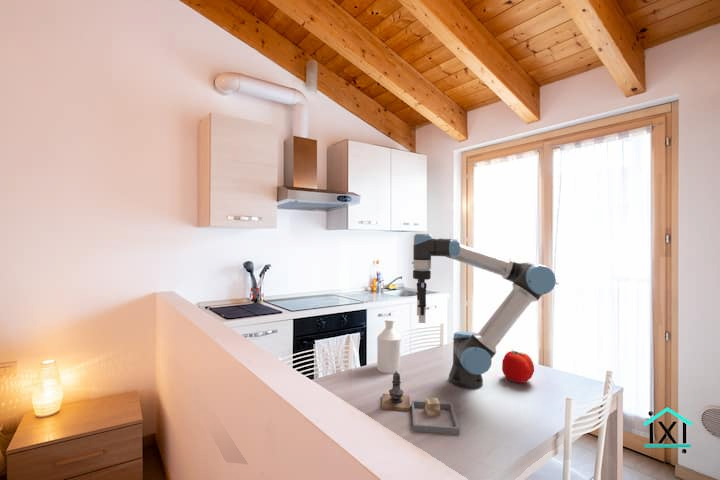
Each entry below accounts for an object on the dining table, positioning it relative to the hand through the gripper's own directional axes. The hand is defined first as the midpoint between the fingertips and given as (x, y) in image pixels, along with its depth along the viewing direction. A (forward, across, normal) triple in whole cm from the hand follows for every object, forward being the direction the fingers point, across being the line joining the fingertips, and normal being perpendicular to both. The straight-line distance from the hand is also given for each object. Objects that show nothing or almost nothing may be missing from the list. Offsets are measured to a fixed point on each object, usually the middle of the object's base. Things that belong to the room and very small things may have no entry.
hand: (420, 319), depth 153 cm
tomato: (+32, -19, +47) cm, 60 cm away
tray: (+32, +22, +4) cm, 39 cm away
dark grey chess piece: (+31, +12, -10) cm, 34 cm away
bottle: (+32, -25, -14) cm, 43 cm away
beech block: (+32, +17, +4) cm, 36 cm away
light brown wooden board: (+32, +12, -10) cm, 35 cm away
